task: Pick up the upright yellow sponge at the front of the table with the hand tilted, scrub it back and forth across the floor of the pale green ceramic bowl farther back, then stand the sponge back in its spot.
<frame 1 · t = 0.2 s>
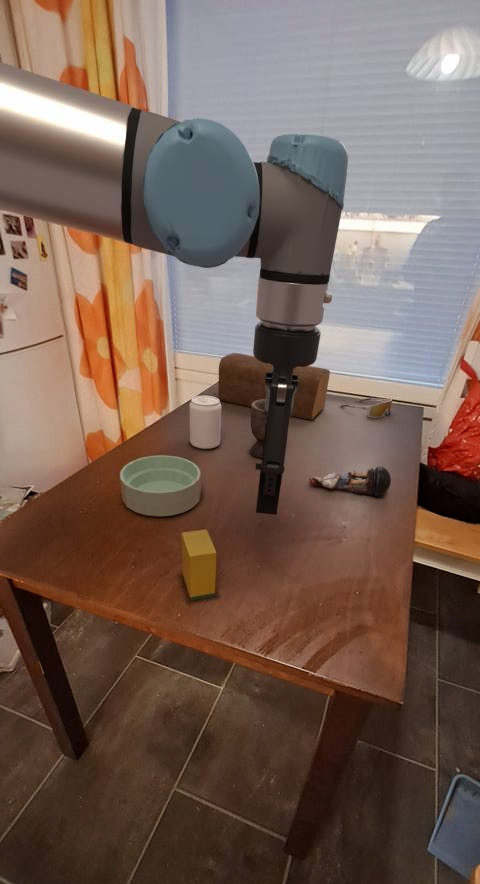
hand: (268, 486, 60), 18 cm above the table, tool pointing down, fingers open, 13 cm apart
sunglasses: (366, 410, 143), on the table
mortar and pestle: (267, 456, 109), on the table
bread: (270, 405, 142), on the table
bowl: (162, 497, 90), on the table
beverage can: (205, 444, 113), on the table
figurine: (346, 490, 98), on the table
sponge: (198, 586, 68), on the table
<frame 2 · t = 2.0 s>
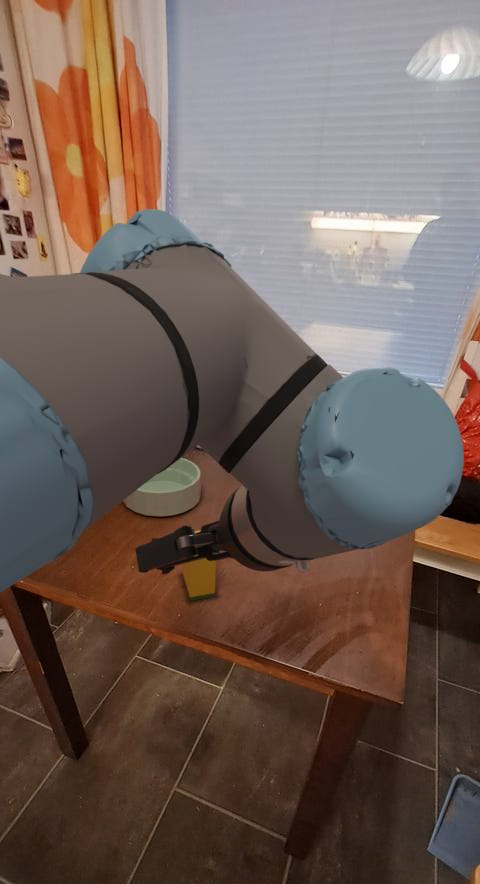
hand: (218, 553, 52), 15 cm above the table, tool tilted 45°, fingers open, 13 cm apart
nothing on the table moved.
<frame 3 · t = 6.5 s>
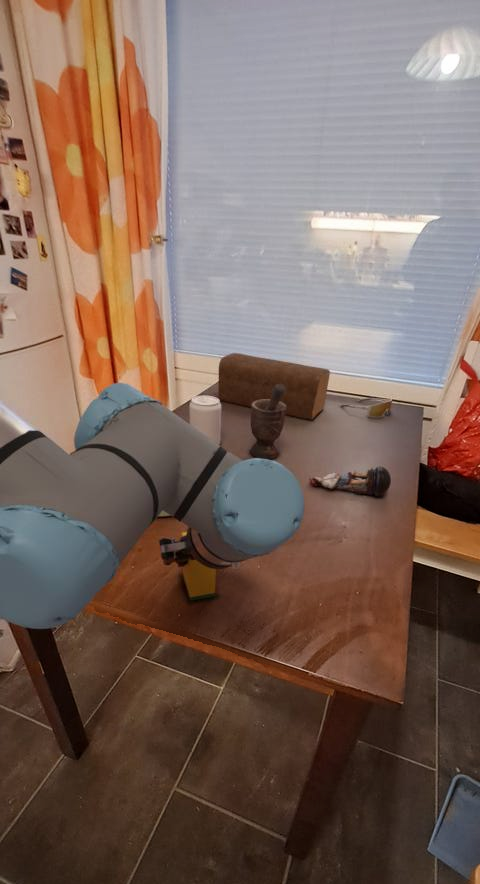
hand: (193, 556, 69), 3 cm above the table, tool tilted 45°, fingers closed on sponge, 4 cm apart
sponge: (198, 586, 68), on the table, touching gripper
everything else where it was.
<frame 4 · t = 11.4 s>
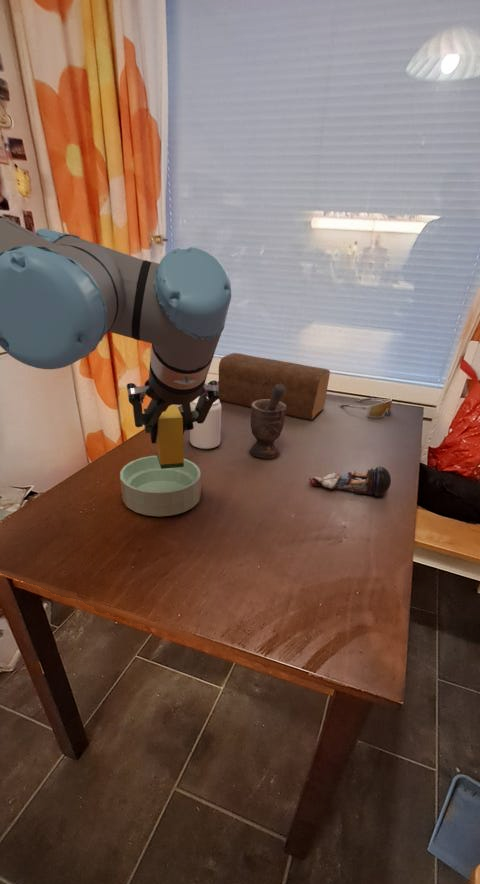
hand: (165, 435, 77), 16 cm above the table, tool tilted 45°, fingers closed on sponge, 4 cm apart
sponge: (169, 460, 75), point 13 cm above the table, touching gripper
everything else where it was.
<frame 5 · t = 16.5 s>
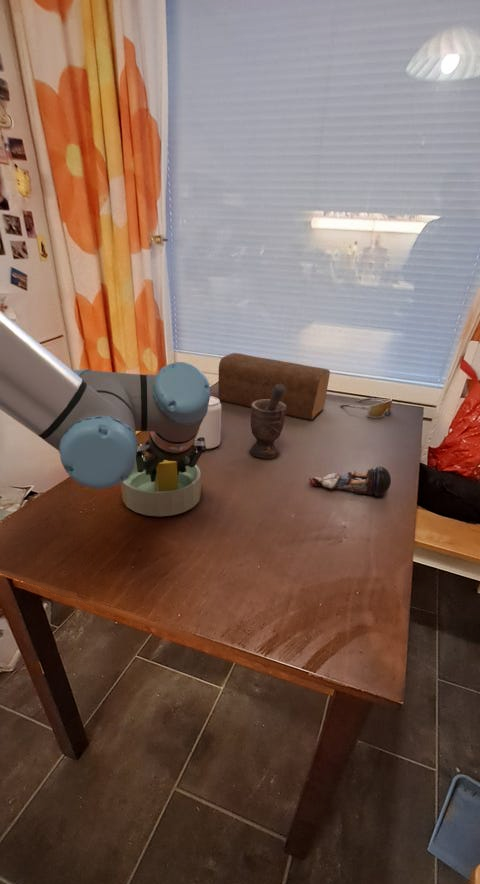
hand: (162, 474, 91), 4 cm above the table, tool tilted 45°, fingers closed on sponge, 4 cm apart
bowl: (162, 497, 90), on the table, touching sponge
sponge: (166, 495, 89), point 1 cm above the table, touching bowl, gripper
everything else where it was.
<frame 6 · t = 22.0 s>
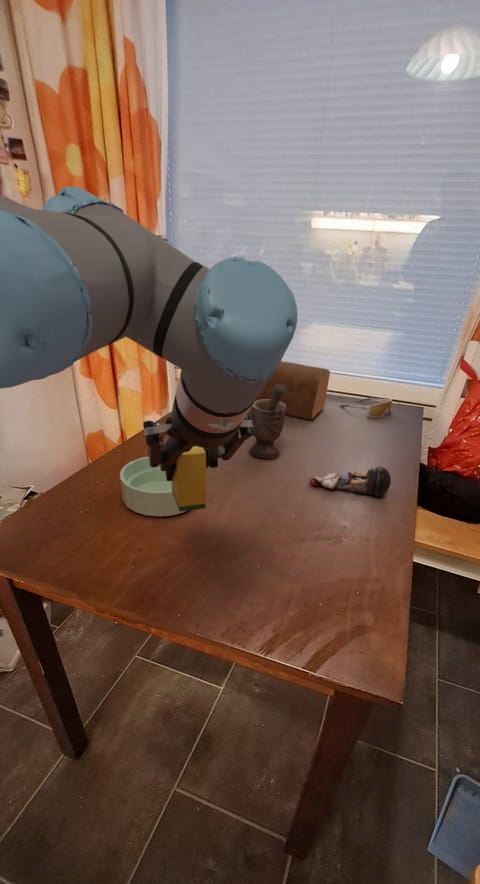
hand: (182, 471, 66), 16 cm above the table, tool tilted 45°, fingers closed on sponge, 4 cm apart
bowl: (162, 497, 90), on the table
sponge: (188, 499, 64), point 13 cm above the table, touching gripper
everything else where it was.
when the fingers open (3 cm above the table, at t = 26.4 s): sponge stays where it is, on the table.
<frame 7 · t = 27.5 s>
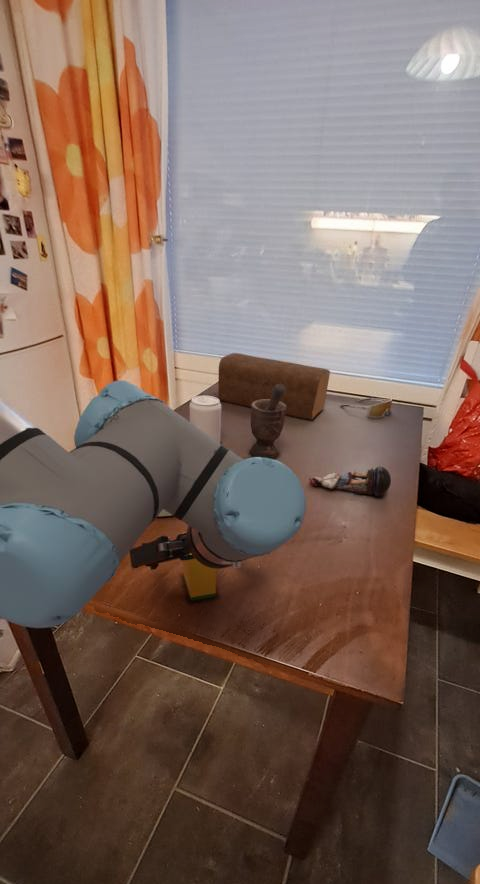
hand: (194, 554, 67), 5 cm above the table, tool tilted 45°, fingers open, 13 cm apart
sponge: (199, 586, 68), on the table
everything else where it was.
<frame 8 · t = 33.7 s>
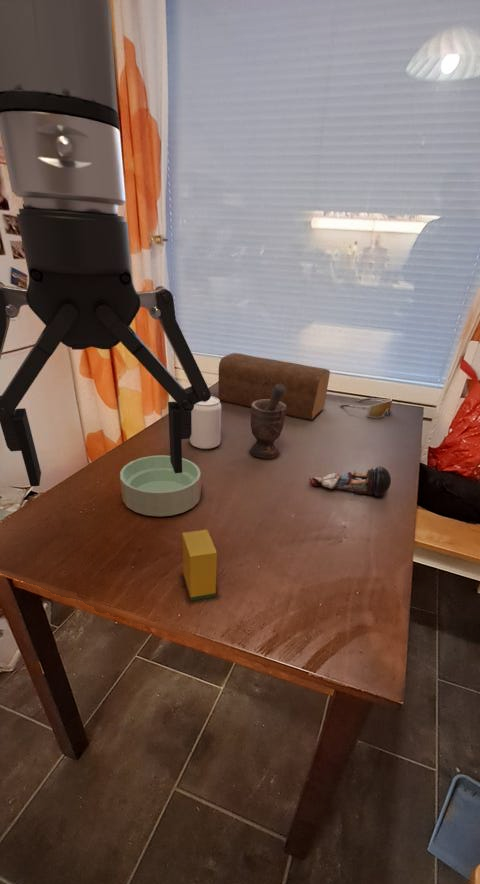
hand: (109, 473, 42), 27 cm above the table, tool pointing down, fingers open, 13 cm apart
nothing on the table moved.
at the end: sponge inside the target area (0.1 cm from its centre), on the table; sponge tilted 0°; bowl moved 0.0 cm from its start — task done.
